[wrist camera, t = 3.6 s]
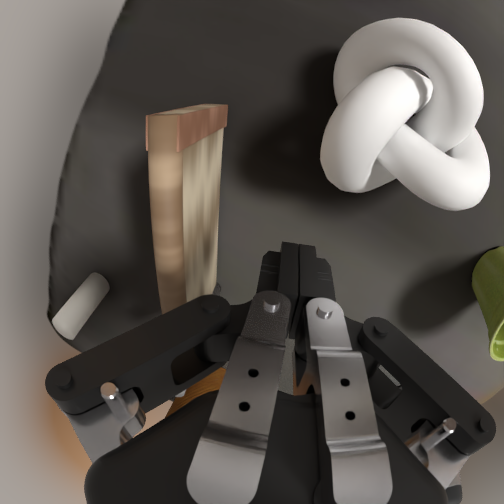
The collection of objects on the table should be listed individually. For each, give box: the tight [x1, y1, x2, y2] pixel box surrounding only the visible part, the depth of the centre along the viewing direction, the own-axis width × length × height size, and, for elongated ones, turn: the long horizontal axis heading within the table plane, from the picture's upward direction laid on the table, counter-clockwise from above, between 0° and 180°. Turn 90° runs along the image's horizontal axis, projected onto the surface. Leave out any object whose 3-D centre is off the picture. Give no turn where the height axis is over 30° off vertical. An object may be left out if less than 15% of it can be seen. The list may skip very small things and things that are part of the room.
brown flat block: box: [146, 104, 228, 315], centre depth 19 cm, size 16×2×10 cm, turn 175°
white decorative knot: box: [320, 18, 490, 211], centre depth 14 cm, size 11×12×9 cm
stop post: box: [52, 273, 110, 340], centre depth 27 cm, size 3×3×8 cm
